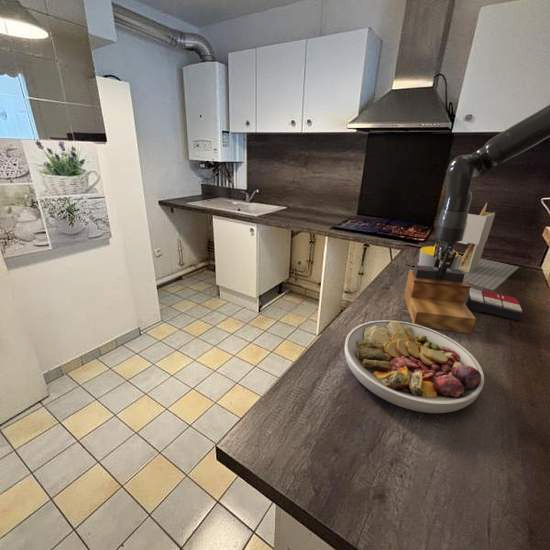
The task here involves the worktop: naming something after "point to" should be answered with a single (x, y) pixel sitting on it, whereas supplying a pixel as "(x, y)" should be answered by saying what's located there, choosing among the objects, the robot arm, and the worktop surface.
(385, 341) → the bowl
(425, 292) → the shelf
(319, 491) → the worktop surface
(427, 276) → the remote
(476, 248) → the white desk organizer
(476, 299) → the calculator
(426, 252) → the soap bottle
